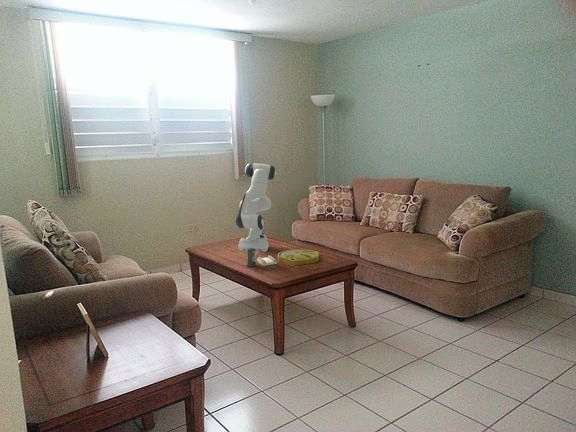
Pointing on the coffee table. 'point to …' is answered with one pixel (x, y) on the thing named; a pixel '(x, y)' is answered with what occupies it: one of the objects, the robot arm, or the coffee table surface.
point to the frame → (251, 257)
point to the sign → (298, 256)
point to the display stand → (267, 260)
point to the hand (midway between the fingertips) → (250, 256)
